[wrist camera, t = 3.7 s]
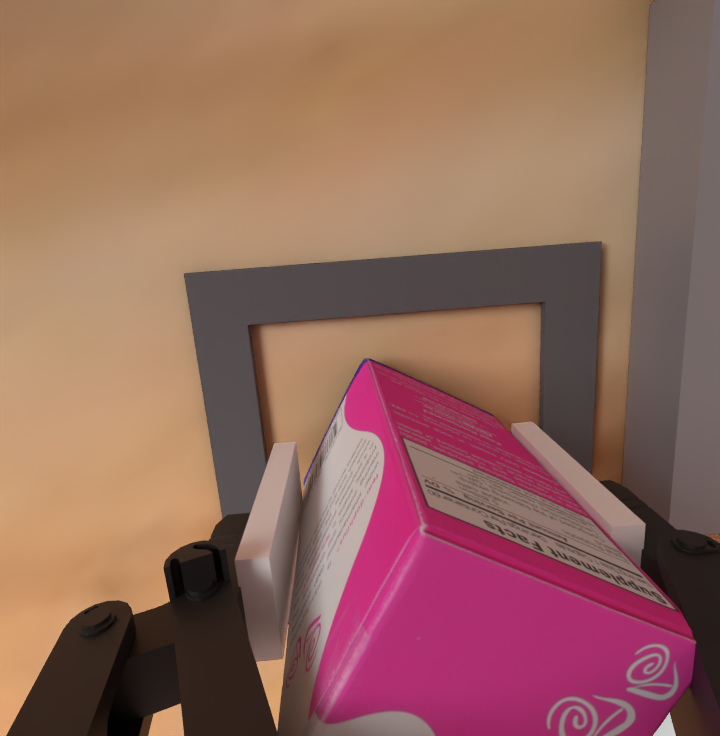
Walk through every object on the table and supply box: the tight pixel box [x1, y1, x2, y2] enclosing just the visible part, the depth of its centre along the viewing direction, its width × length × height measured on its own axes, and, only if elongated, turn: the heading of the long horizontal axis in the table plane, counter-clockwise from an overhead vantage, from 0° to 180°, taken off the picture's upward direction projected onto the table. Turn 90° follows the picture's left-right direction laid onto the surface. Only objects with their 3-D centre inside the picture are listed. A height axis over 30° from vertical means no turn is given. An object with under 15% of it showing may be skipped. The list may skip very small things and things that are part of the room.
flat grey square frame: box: [184, 242, 602, 624], centre depth 19 cm, size 15×15×1 cm
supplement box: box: [277, 358, 697, 736], centre depth 13 cm, size 6×6×12 cm
